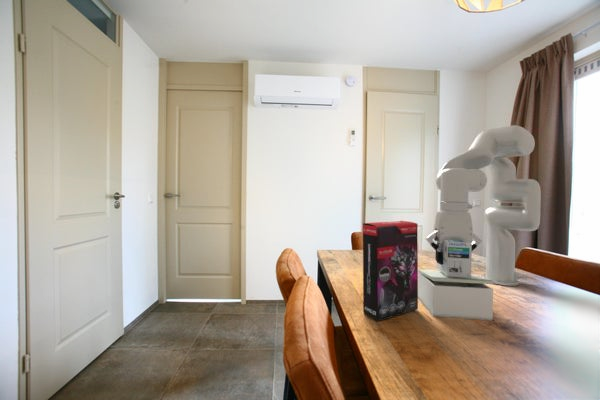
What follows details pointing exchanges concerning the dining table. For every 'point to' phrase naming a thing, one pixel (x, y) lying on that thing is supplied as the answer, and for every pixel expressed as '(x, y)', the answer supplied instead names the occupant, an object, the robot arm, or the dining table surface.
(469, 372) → the dining table surface
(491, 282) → the lid
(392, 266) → the graphics card box
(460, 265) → the light bulb box
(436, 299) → the carton
